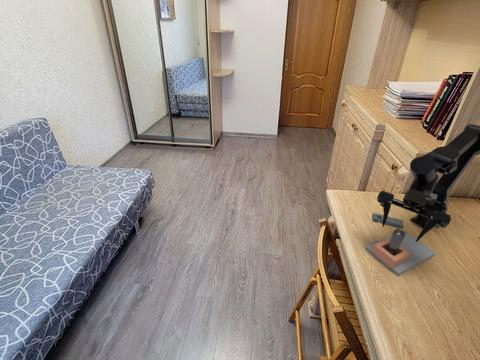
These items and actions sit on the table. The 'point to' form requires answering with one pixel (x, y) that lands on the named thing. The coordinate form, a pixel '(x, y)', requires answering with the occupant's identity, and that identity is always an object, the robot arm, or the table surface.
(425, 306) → the table surface
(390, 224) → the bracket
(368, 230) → the table surface
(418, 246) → the socket base
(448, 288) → the table surface
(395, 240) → the peg
